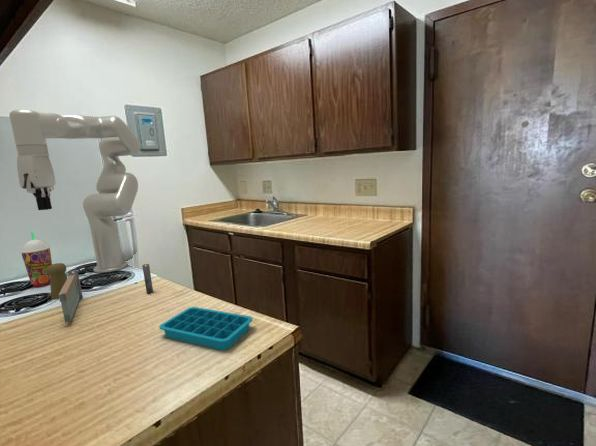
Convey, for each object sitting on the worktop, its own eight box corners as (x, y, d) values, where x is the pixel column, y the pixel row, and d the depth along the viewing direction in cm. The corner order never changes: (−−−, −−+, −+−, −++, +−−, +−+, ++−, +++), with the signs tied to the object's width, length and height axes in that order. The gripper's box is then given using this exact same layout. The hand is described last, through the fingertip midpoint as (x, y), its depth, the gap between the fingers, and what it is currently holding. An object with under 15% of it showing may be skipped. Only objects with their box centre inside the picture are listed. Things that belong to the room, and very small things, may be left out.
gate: (74, 298, 100) (69, 274, 99) (80, 297, 101) (75, 273, 99) (64, 323, 83) (58, 294, 82) (71, 321, 84) (65, 293, 83)
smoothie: (32, 290, 113) (20, 235, 109) (26, 286, 118) (14, 233, 114) (60, 282, 119) (49, 230, 116) (53, 278, 124) (42, 229, 121)
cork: (77, 291, 109) (71, 261, 107) (62, 299, 103) (56, 266, 101) (61, 292, 109) (55, 261, 107) (46, 299, 103) (39, 267, 101)
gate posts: (76, 298, 103) (71, 270, 101) (154, 290, 105) (150, 263, 103) (72, 301, 101) (66, 272, 99) (151, 293, 103) (147, 265, 101)
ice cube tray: (192, 316, 86) (191, 306, 85) (255, 328, 78) (254, 317, 77) (158, 338, 76) (156, 327, 75) (226, 355, 67) (225, 342, 67)
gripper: (37, 153, 106) (48, 207, 110) (0, 151, 92) (15, 213, 95) (60, 152, 107) (71, 205, 110) (28, 150, 92) (41, 212, 96)
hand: (45, 209), depth 103 cm, fingers closed
